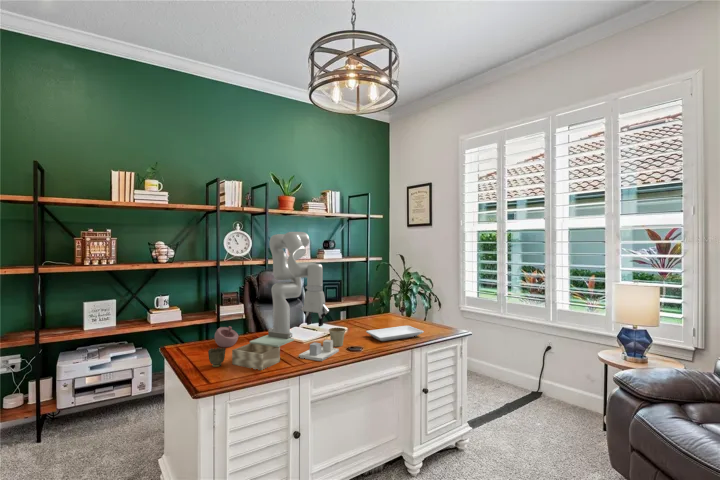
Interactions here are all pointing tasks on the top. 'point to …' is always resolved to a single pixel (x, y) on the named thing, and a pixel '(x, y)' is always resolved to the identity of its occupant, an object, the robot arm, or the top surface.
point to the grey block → (315, 348)
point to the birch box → (256, 356)
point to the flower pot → (337, 336)
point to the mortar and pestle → (225, 337)
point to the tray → (394, 333)
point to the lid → (273, 339)
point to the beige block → (327, 345)
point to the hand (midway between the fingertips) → (314, 324)
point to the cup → (216, 356)
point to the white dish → (319, 357)
